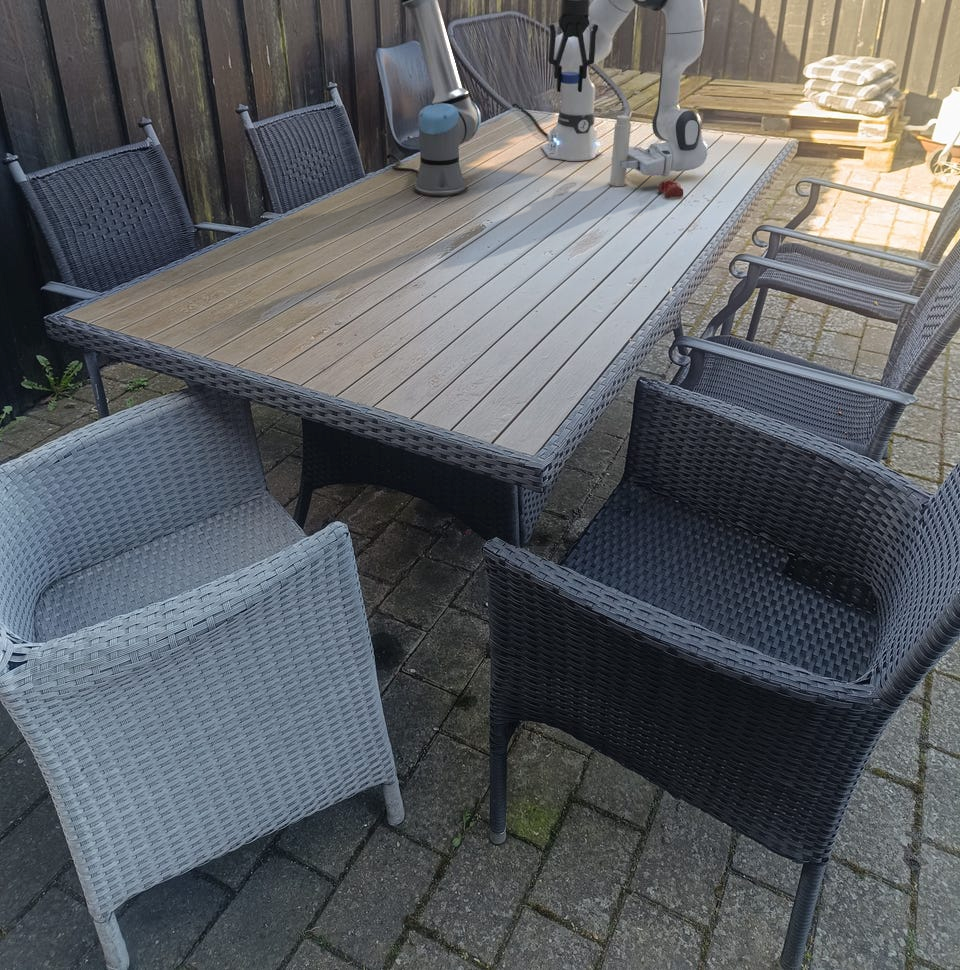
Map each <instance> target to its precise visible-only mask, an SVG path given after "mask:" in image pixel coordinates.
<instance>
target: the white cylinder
mask: <svg viewBox="0 0 960 970" xmlns="http://www.w3.org/2000/svg"><path fill="white" fill-rule="evenodd" d="M631 128H632V123H631V116H630V115H625V114H624V115H623V114H622V115H621V114H620V115H617V116H616V122H615V123H614V129H613V130H614V131H613V142H612V153H611V154H612V155H611V166H610V168H611V169H610V177H609V178H610V179H609V185H610V186H612V187H624V186H626V178H627V169H628V168H622V167H620V162H621V161H627V160H628V149H629V147H630V140H631V139H630V138H631Z"/></svg>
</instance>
